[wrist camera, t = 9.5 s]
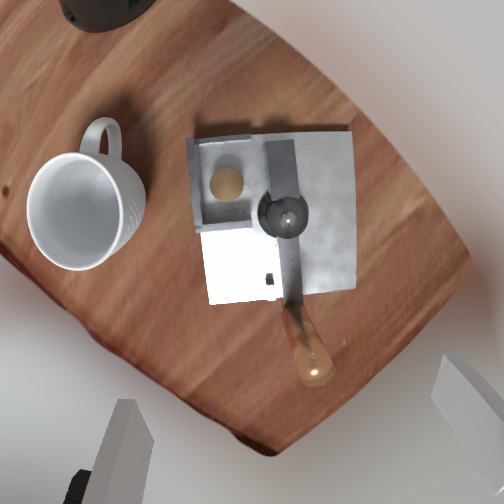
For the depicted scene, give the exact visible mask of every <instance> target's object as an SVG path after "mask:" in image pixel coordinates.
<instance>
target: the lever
mask: <svg viewBox="0 0 504 504" xmlns="http://www.w3.org/2000/svg"><path fill="white" fill-rule="evenodd" d="M263 150H264V158H265V167H266V176H267V184H268V193H269V199H270V200H271V201H270V202H269V203H268V205H267V207H266V209H265V220H266V222H267V224H268V226H269V228H270V229H271V231H272V232H273V233H274V234H275V235H276V244H277V254H278V264H279V274H280V285H281V296H282V307H283V311H282V314H281V317H282V321H283V324H284V327H285V331H286V334H287V337H288V340H289V344H290V347H291V350H292V353H293V357H294V360H295V363H296V367H297V370H298V373H299V376H300V380H301V381H302V383H303V384H305V385H307V386H310V387H317V386H321V385H323V384H325V383H327V382H328V381H329V380H330V379H331V378H332V377H333V375H334V371H335V369H334V365H333V363H332V361H331V359H330V357H329V355H328V353H327V351H326V349H325V346H324V344H323V342H322V340H321V338H320V336H319V334H318V332H317V330H316V328H315V326H314V324H313V322H312V320H311V318H310V315H309V313H308V311H307V309H306V308H305V306H304V304H303V288H302V273H301V259H300V246H299V235H300V234H302V233H303V232H304V230H305V229H306V227H307V224H308V219H309V216H308V211H307V209H306V207H305V206H304V205H303V204H302V203H301V202H300V201H298V200H297V198H300V192H299V182H298V173H297V163H296V154H295V145H294V139H288V140H276V141H266V142H264V143H263Z"/></svg>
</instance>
